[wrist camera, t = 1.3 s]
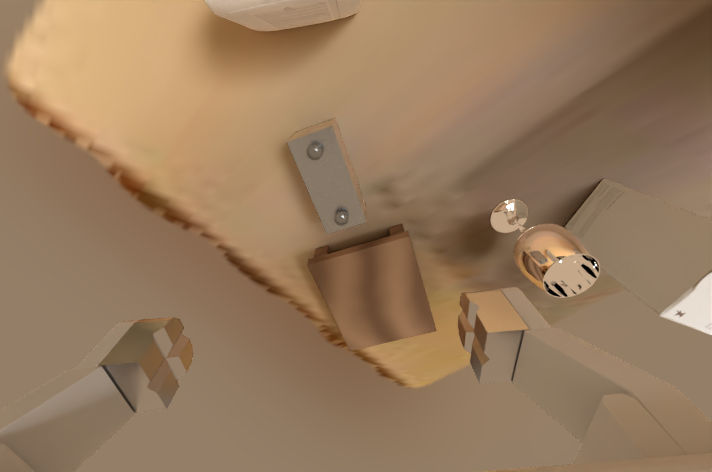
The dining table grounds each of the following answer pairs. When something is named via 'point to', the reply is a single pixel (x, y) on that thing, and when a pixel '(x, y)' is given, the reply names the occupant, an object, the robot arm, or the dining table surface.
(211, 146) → the dining table surface
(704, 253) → the skincare box
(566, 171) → the dining table surface
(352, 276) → the stand
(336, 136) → the plate
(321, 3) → the photo printer
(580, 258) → the wineglass
